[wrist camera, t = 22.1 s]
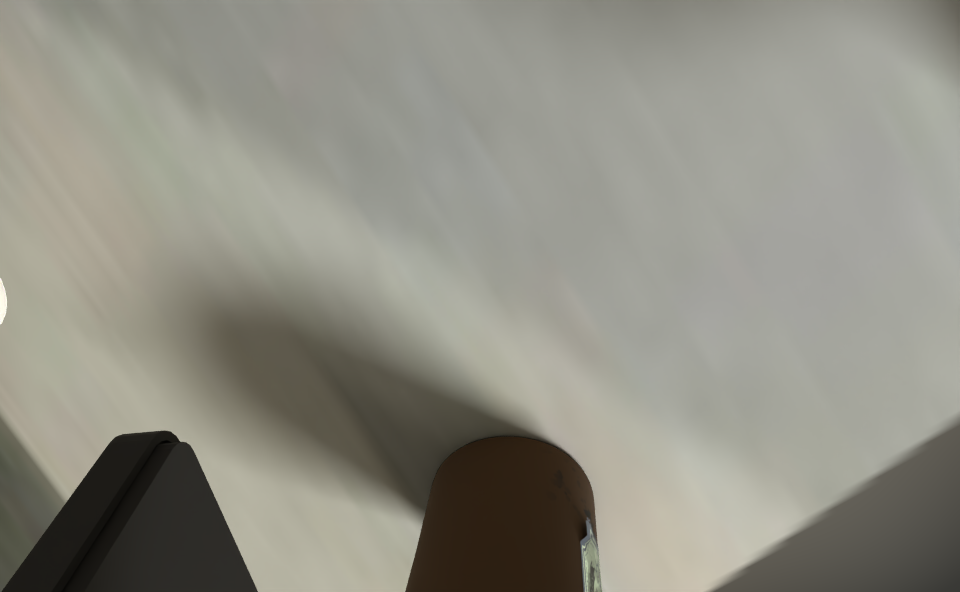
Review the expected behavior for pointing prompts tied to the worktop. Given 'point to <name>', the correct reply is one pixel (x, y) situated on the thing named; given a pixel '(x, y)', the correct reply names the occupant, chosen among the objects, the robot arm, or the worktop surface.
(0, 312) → the cylindrical container
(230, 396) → the worktop surface
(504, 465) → the olive oil
